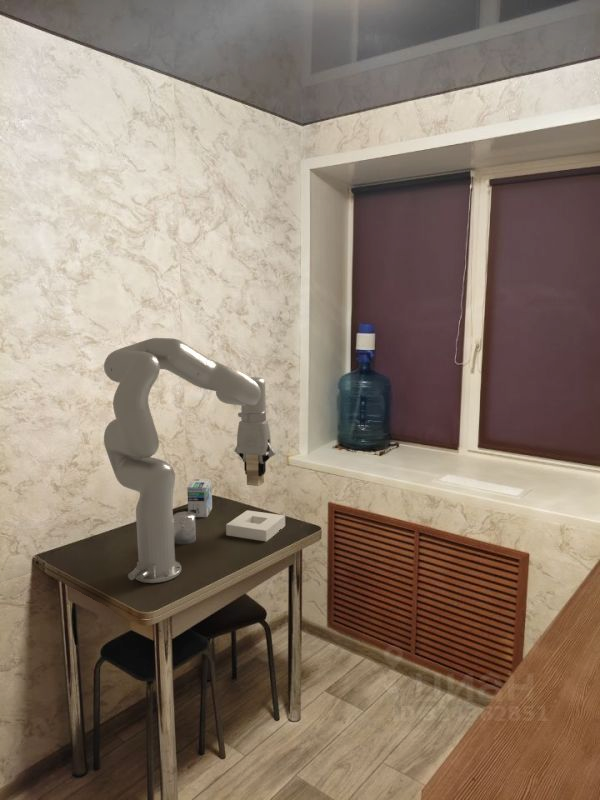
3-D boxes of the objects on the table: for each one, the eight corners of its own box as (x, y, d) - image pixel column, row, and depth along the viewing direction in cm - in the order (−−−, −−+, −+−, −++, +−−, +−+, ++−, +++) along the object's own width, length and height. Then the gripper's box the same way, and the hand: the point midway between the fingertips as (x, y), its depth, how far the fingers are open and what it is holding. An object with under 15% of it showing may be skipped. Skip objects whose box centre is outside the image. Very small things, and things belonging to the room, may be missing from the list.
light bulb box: (207, 517, 198) (206, 487, 196) (187, 517, 198) (186, 487, 197) (212, 507, 209) (211, 478, 207) (194, 507, 209) (192, 478, 207)
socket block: (266, 541, 177) (266, 530, 177) (226, 535, 182) (226, 524, 182) (285, 525, 190) (285, 515, 189) (247, 520, 195) (247, 510, 195)
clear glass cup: (188, 545, 175) (187, 520, 174) (169, 542, 177) (168, 517, 176) (200, 537, 181) (199, 513, 180) (182, 534, 183) (181, 510, 182)
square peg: (258, 486, 181) (257, 454, 180) (246, 484, 183) (246, 453, 181) (263, 482, 185) (263, 452, 183) (252, 481, 186) (251, 450, 185)
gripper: (224, 417, 180) (226, 474, 183) (272, 421, 174) (274, 480, 177) (235, 413, 187) (237, 468, 190) (283, 416, 181) (284, 473, 184)
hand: (255, 473), depth 183 cm, fingers closed on square peg, 4 cm apart
